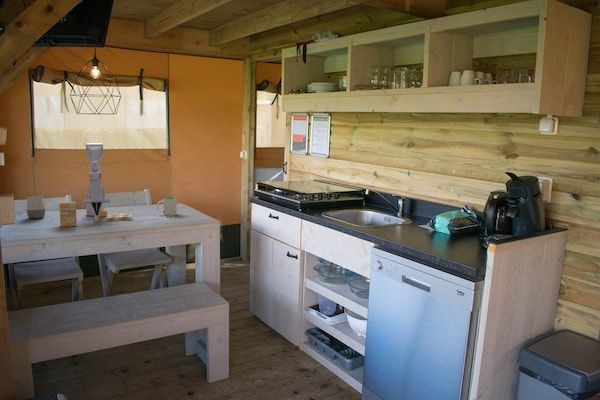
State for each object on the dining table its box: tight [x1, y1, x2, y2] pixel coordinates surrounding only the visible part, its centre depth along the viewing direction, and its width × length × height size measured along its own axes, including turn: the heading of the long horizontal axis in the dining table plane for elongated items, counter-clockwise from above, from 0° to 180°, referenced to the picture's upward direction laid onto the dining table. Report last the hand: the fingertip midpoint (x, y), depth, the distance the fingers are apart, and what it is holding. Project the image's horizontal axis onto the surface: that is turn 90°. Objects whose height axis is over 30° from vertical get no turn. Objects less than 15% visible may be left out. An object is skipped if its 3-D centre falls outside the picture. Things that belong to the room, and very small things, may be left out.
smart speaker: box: [26, 194, 46, 220], centre depth 284 cm, size 10×9×14 cm
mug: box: [156, 196, 178, 216], centre depth 304 cm, size 12×8×10 cm
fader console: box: [94, 213, 133, 223], centre depth 287 cm, size 20×10×2 cm, turn 113°
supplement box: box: [58, 201, 78, 227], centre depth 266 cm, size 8×5×13 cm, turn 118°
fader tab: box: [99, 209, 108, 216], centre depth 284 cm, size 4×4×3 cm
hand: (97, 215), depth 283 cm, fingers closed
